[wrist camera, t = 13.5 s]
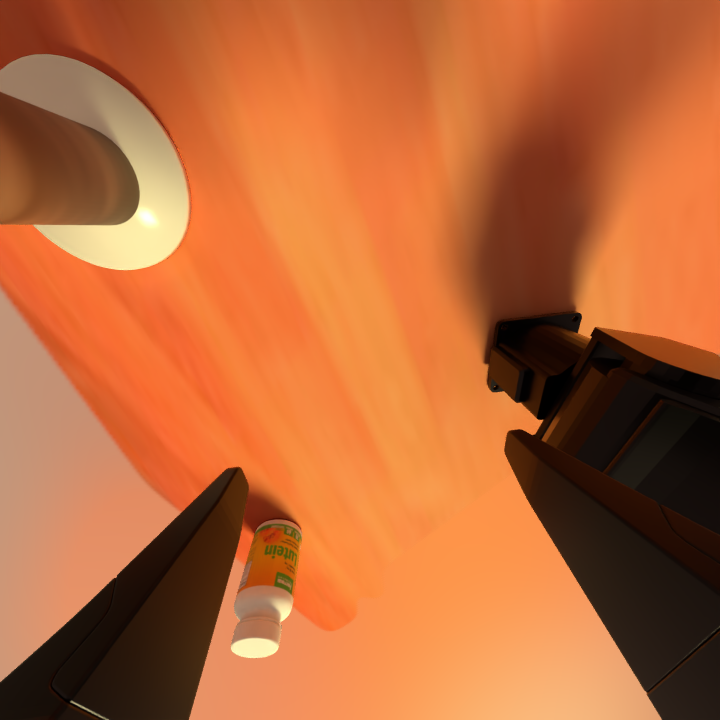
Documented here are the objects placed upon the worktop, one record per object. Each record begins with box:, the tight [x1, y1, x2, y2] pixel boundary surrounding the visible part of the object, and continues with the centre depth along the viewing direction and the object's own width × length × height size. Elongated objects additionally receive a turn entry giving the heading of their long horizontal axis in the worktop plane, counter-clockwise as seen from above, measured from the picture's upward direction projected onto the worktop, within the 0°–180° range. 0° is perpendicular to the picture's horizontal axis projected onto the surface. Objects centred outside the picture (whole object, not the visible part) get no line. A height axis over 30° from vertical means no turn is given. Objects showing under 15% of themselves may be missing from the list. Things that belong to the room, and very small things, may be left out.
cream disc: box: [0, 54, 191, 270], centre depth 15 cm, size 10×10×1 cm
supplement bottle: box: [231, 519, 302, 658], centre depth 27 cm, size 5×5×10 cm
